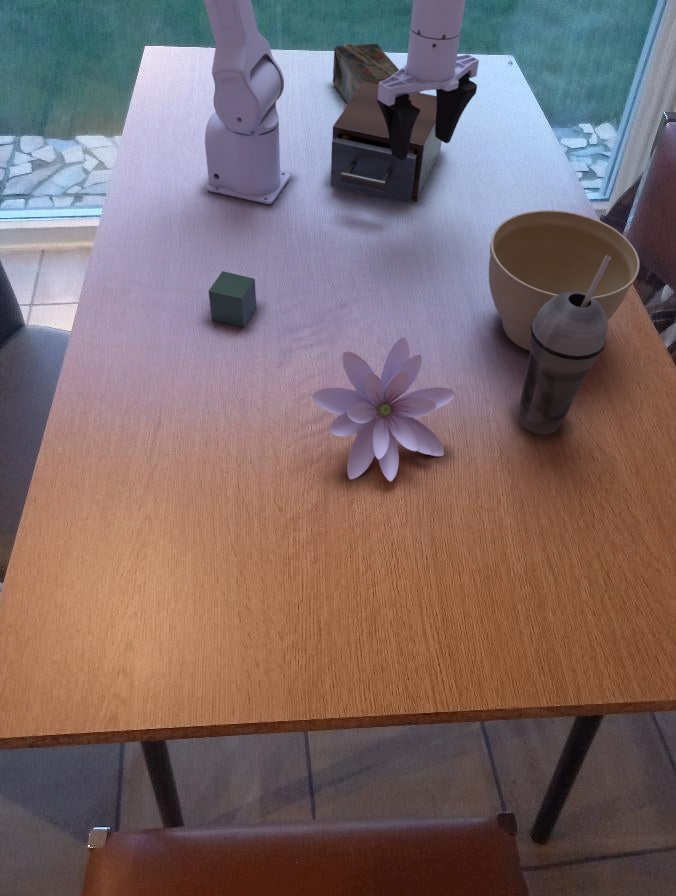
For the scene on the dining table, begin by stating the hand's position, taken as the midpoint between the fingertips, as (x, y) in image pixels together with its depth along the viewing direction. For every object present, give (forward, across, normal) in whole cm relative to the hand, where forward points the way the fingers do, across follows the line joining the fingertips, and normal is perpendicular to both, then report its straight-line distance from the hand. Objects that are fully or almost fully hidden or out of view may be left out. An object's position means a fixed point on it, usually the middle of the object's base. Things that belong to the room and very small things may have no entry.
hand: (420, 147), depth 98 cm
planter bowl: (+10, -4, -27) cm, 29 cm away
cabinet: (+10, +6, +12) cm, 17 cm away
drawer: (+9, +2, +9) cm, 13 cm away
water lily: (+10, -32, -29) cm, 44 cm away
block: (+10, -31, -3) cm, 33 cm away
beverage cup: (+10, -15, -36) cm, 41 cm away
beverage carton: (+10, +16, +27) cm, 33 cm away
